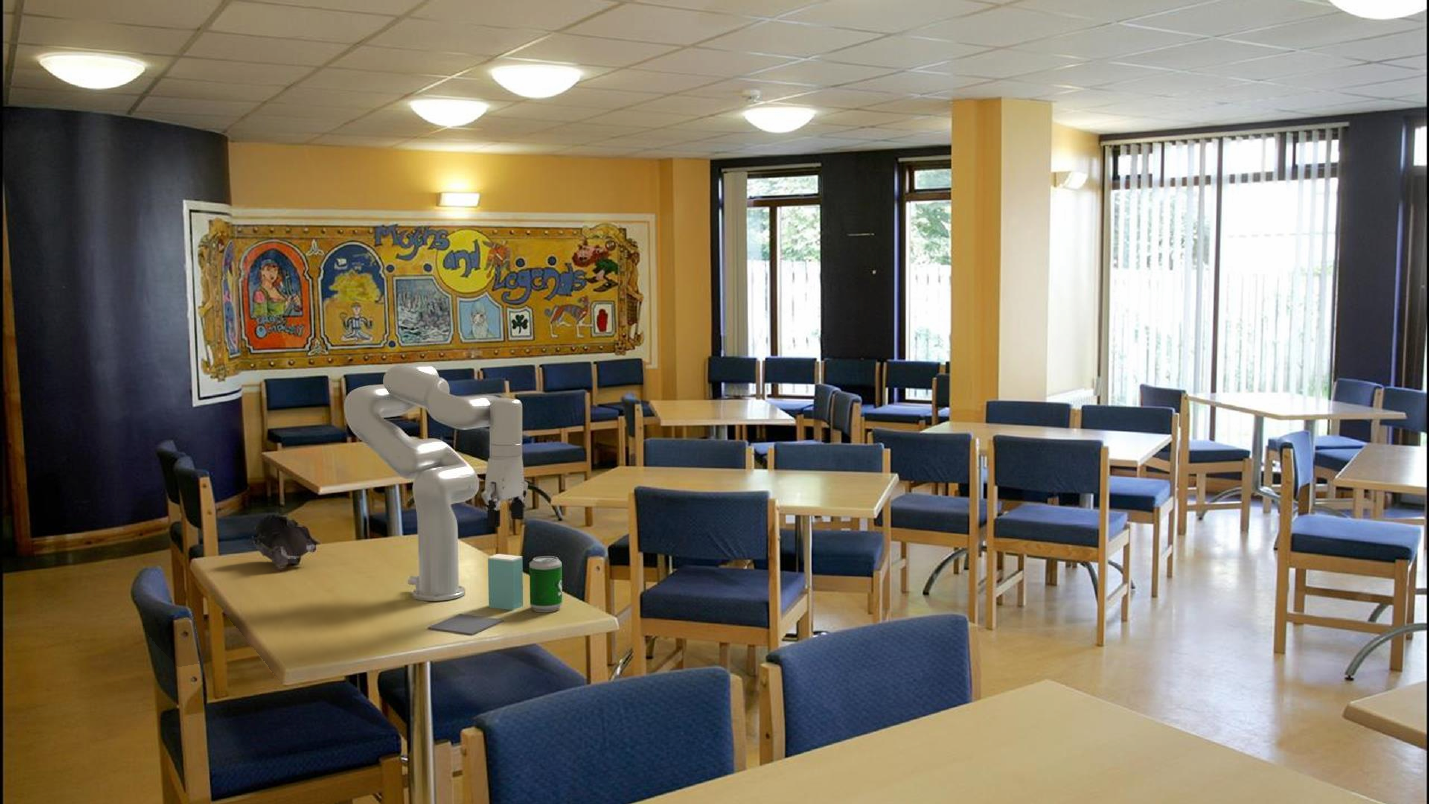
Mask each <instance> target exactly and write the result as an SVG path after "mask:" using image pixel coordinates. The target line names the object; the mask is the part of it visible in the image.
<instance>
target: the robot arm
mask: <svg viewBox="0 0 1429 804" xmlns="http://www.w3.org/2000/svg"><path fill="white" fill-rule="evenodd" d="M382 380H383V381H382V383H383V384H372V385H371V384H370V385H364V386H360V387H357V388H355V389H353V390H351V391H350V392H349V393H348V394H347V395H346V397H345V400H344V405H343V410H344V417H345V420H346V423H347V425H348V427H349V428H350V430H351V432H352V433H353V434H354V435H355V436H356V437H357V438H358V439H359V440H361V441H362V443H364V444H365V445H367V446H368V447H369V448H370V449H372V451H374V453H375V454H376V455H377V456H378V457H379V458H380V459H381V460H382V461H383V462H384V463H386V465H388V467H389V468H390V469H391V470H393V471H394V472H395V473H396V474H397V475H398V476H399V477H401V478H402V479H405V480H413V482H412V483H413V484H412V495H413V500H414V501H413V502H414V504H415V510H416V520H417V544H418V545H417V546H418V547H417V548H418V549H417V550H418V553H417V555H418V575H415V574H412V575H410V577H409V579H408V580H407V584H408V585H410V586H411V585H412V586H415V589H414V590H413V591H412V597H413V598H414V599H416V600H420V601H427V602H428V601H429V602H438V601H439V602H440V601H450V600H455V599H458V598H460V597H463V596H465V594H466V588H465V587H464V586H463V585H462V586H461V585H460V582H459V578H460V577H459V573H460V572H459V532H458V531H459V530H458V528H459V527H458V521H457V517H456V514H455V512H454V510H453V509H452V505H453V504H457V503H463V502H466V501H469V500H470V499H473V498H474V497H475V496H476V495H477V493H478V492H479V489H480V488H479V487H480V481H479V476H478V475H477V472H476V471H475V469H474V468H473V467H472V466H471V465H470V464H469V463H468V462H467V460H465V459H464V458H463V457H462V456H461V455H460V454H459V453H457V452H456V451H455V449H453V448H452V447H451V446H450V445H449V444H447V442H444V441H443V440H441V439H438V438H424V439H414V438H412V437H411V436H409V435H408V434H407V433H405V431H404V430H403V429H402V428H401V427H399V426H398V425H396V424H395V423H393V422H391V421H389V420H386V419H385V418H391V417H399V416H402V415H405V414H406V413H409V412H410V411H412V410H413V409H414V408H417V407H419V408H422V409H424V410H426V411H427V413H428V415H429V416H430V417H431V418H432V419H433V420H434V421H436V422H438V423H440V424H442V425H445V426H447V427H450V428H453V429H456V430H466V431H467V430H472V429H478V428H487V427H488V428H489V458H488V459H487V464H486V471H485V472H486V473H485V484H484V485H485V487H484V490H483V492H482V494H481V495H482V496H481V497H482V499H483V504H484V505H485V510H487V511H486V514H487V517H486V518H487V520H486V523H487V524H486V525H487V526H488V527H490V528H491V527H492V528H499V527H501V509H499V508H500V507H501V504H502V502H503V501H504V502H505V501H509V500H512V501H511V502H510V518H511V519H512V520H518V521H519V520H520V521H522V520H524V519H525V517H524V511H525V510H524V507H525V506H524V505H525V503H526V496H527V495H528V493H527V490H528V488H529V487H528V486H529V483H528V482H527V481H526V480H525V474H524V473H525V472H524V462H523V403H522V402H521V400H519V399H517V398H509V397H506V398H505V397H503V398H502V397H498V396H496V395H487V394H485V395H484V394H483V395H476V396H475V395H474V396H466V397H465V396H464V397H461V396H456V395H454V394H451V393H450V385H449V383H448V381H447V380H446V379H444V378H443V377H440V376H439V373H438V370H436V369H435V368H434V367H433V366H432V365H431V364H427V363H424V362H423V363H422V362H420V363H419V362H418V363H403V364H396V365H393V366H391V367H390V368H389V369H388V370H387V371H386V372H385V374H384V375H383V379H382Z"/></svg>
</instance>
